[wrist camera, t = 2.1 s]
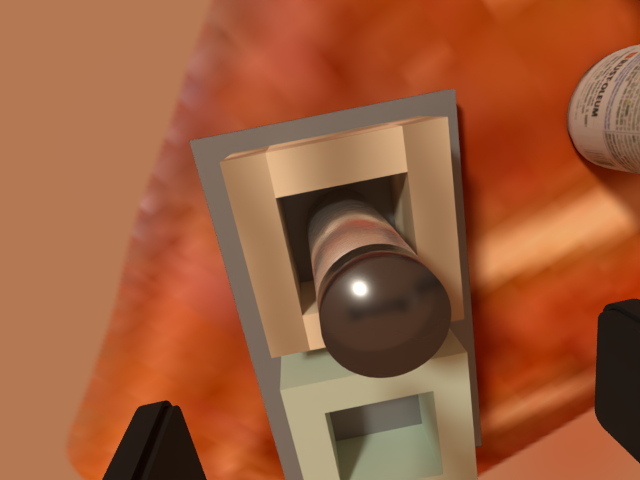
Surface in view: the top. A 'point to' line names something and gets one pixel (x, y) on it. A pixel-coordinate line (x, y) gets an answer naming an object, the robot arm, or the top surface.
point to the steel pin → (372, 290)
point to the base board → (296, 211)
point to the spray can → (609, 112)
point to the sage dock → (389, 446)
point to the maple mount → (333, 170)
